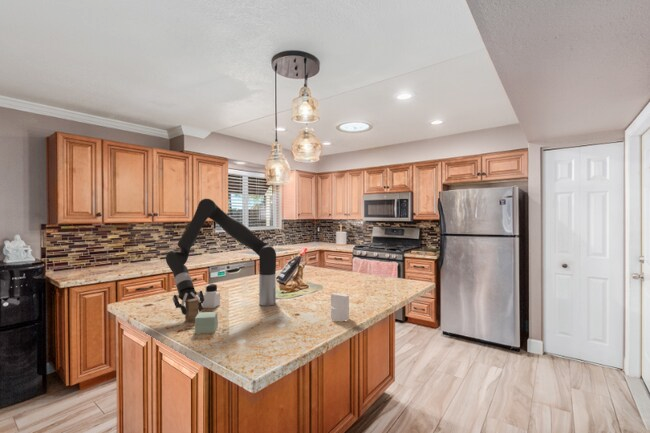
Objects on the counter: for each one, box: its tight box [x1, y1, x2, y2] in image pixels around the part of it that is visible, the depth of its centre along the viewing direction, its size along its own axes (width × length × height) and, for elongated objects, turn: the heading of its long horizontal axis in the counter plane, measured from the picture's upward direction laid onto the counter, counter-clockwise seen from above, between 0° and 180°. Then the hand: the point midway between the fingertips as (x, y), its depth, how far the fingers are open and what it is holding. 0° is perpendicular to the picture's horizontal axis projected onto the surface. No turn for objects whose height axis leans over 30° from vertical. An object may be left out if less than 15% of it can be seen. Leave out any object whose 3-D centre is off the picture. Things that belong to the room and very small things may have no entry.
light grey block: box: [330, 292, 350, 322], centre depth 153 cm, size 9×9×12 cm
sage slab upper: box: [194, 311, 218, 327], centre depth 138 cm, size 8×8×4 cm
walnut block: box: [184, 298, 199, 324], centre depth 151 cm, size 4×4×10 cm
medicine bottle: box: [201, 283, 221, 309], centre depth 175 cm, size 7×7×12 cm
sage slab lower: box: [194, 318, 219, 334], centre depth 138 cm, size 8×8×4 cm
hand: (193, 312), depth 149 cm, fingers open, 6 cm apart
